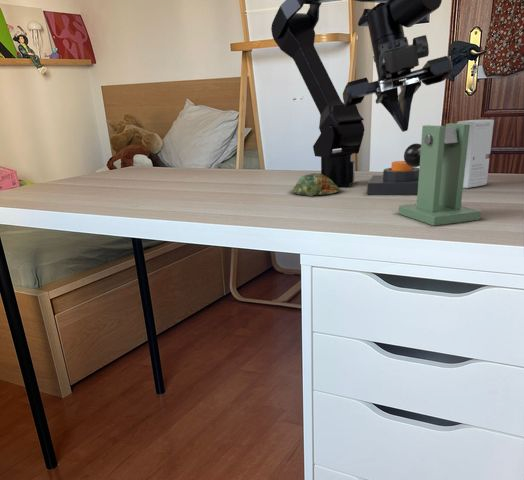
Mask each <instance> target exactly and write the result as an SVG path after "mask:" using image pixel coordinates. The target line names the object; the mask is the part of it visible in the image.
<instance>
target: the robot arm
mask: <svg viewBox="0 0 524 480" xmlns="http://www.w3.org/2000/svg"><path fill="white" fill-rule="evenodd" d="M338 1H341V0H284V1H283V2H282V4H280V6H279V8H278V10H277V11H276V14H275V16H274V18H273V20H272V23H271V27H270V28H271V29H270V30H271V36H272V39H273V41H274V43H275V44H276V46H278V48H279V49H280V51H281V52H283V53H284V54H286V56H288V57H290V58H291V59H292V60H293V62H294V64H295V66H296V68H297V70H298V71H299V74H300V76H301V78H302V80H303V82H304V84H305V86H306V88H307V90H308V92H309V94H310V96H311V98H312V101H313V103H314V104H315V106H316V109H317V110H318V112H319V115H320V117H319V125H318V130H319V132H320V134H319V136H318V138H317V139H316V141H315V142H314V144H313V145H312V149H313V154H314V157H319V158H320V174H322V175H325V176H326V177H328V178H330V179H331V180H332V181H333V182H334V183H335V184H336V185H337V186H338V188H340V187H341V188H342V187H344V188H345V187H351V185H352V184H353V183H354V182H355V179H356V178H355V176H356V174H355V171H356V162H355V160H353V154H355V155H356V154H357V155H358V154H359V152H360V149H361V145H362V142H363V138H364V135H365V125H364V123H363V121H364V119H365V118H364V117H362V115H361V114H360V112H359V108H358V106H357V105H360V104H361V103H362V102H363V101H364V99H365V97H366V96H369V95H374V94H375V96H376V99H375V104H377V105H378V104H381V105H382V106H383V108H385V109H386V111H387V112H388V113H389V114H390V115H391V117H392V118H393V120H394V121H395V123H396V125H397V126H398V127H399V129H400V130H401V132H402V133H404V132H407V131H408V130H409V123H410V116H411V109H412V108H411V107H412V102H413V98H414V95H415V93H416V92H417V91H418V90H419V89H420V87H421V86H422V84H424V85H425V86H431V85H435V84H438V83H441V82H443V81H445V80H446V79H447V78H448V77H449V76H450V75H451V74H452V73H453V72H454V66H453V60H452V59H451V58H450V57H449V56H447V55H443V56H440V57H437V58H433V59H430V60H427V61H426V63H425V64H424V65H423V66H422V68H420V69H416V70H413V69H415V67H418V66H420V63H419V62H420V61H419V60H420V59H423V58H426V57H427V58H428V57H429V54H430V48H429V42H428V38H427V34H424V35H420V36H416V37H413V38H412V44H410V43H409V40H408V38H407V37H408V36H405V31H404V28H411V27H413V26H414V25H416V24H417V23H419V22H420V21H422V20H423V19H424V18H426V17H427V16H429V15H431V14H432V13H433V12H435V11H437V10H438V9H439V8H440V7H441V5H442V2H443V0H354V1H355V2H360V3H361V2H362V3H377V4H376V5H375V6H373V7H372V8H364V9H363V12H362V15H361V16H360V18H359V19H358V22H357V26H359V27H367V28H368V33H369V38H370V43H371V48H372V53H373V56H372V57H373V63H375V64H374V65H375V68H376V73H377V78H378V79H377V80H375V81H371V82H369V79H368V78H367V77H363V78H359V79H358V78H357V79H355V80H352V81H348V82H347V83H346V85H345V86H344V90H343V91H342V100H341V97H340V95H339V93H338V91H337V89H336V88H335V85H334V84H333V81H332V79H331V77H330V75H329V74H328V71H327V69H326V67H325V65H324V63H323V61H322V59H321V57H320V55H319V53H318V51H317V49H316V47H315V40H316V31H315V28H316V26H317V24H318V22H319V20H320V7H321V5H322V4H323V3H332V2H338ZM304 5H309V8H308V9H307V11H306V13H305V12H303V13H302V12H299V11H300V10H302V8H303V7H304ZM412 70H413V71H412ZM398 87H399V88H400V89H399V90H400V92H398Z"/></svg>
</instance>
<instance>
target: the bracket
mask: <svg viewBox="0 0 524 480" xmlns="http://www.w3.org/2000/svg"><path fill="white" fill-rule="evenodd" d="M449 126H456V132H457V140H458V143H456V144H454V145H452V146H451V147H449V148H447V149H444V142H445V131H446V127H449ZM469 128H470V124H457V123H456V122H455V123H453V122H451V123H446V124H445V125H431V124H426V125H425V124H424V125H422V128H421V140H420V142H421V143H420V144H421V154H420V166H418V168H419V180H418V194H417V195H416V203H411V204H410V203H409V204H403V205H398V214H399V215H402V216H404V217H408V218H410V219H413V220H415V221H419V222H422V223H424V224H427V225H431V226H434V227H435V226H442V225H450V224H457V223H458V224H459V223H464V222H472V221H478V220H481V214H482V213H481V212H482V211H481V210H478V209H474V208H471V207H467V206H463V205H462V200H463V199H462V198H463V190H464V188H463V182H464V173H465V164H466V155H467V146H468V137H469Z"/></svg>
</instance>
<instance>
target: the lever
mask: <svg viewBox="0 0 524 480" xmlns="http://www.w3.org/2000/svg"><path fill="white" fill-rule="evenodd" d="M456 143H458V140H457V132H456V126H449V127H446V131H445V142H444V149H447V148H449V147H451V146H452V145H454V144H456ZM420 154H421V143H412V144H411V145H409V146H408V147H407V148H406V149H405V150H404V153H403V161H405V162H406V164H407V165H409V166H411V167H416V168H419V167H420Z"/></svg>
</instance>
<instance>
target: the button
mask: <svg viewBox="0 0 524 480" xmlns="http://www.w3.org/2000/svg"><path fill="white" fill-rule="evenodd" d="M390 168H391V171H410V170H412V167H411V166H409V165H407V164H406V162H405V160H397V161H392V162H391V167H390Z"/></svg>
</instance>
